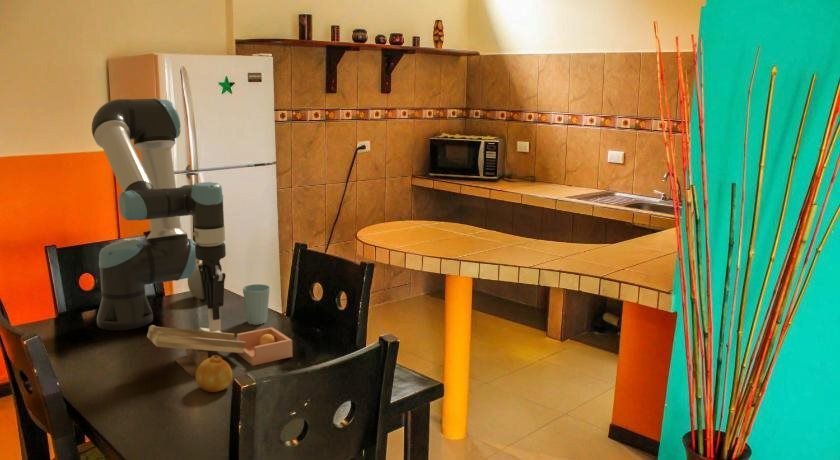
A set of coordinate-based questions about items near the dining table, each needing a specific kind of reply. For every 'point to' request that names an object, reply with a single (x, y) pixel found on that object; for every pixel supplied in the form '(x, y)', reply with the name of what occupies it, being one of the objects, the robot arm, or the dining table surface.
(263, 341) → the ball
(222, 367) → the fruit
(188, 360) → the fulcrum
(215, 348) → the lever
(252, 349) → the dish
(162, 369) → the dining table surface
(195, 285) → the fruit
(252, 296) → the cup
